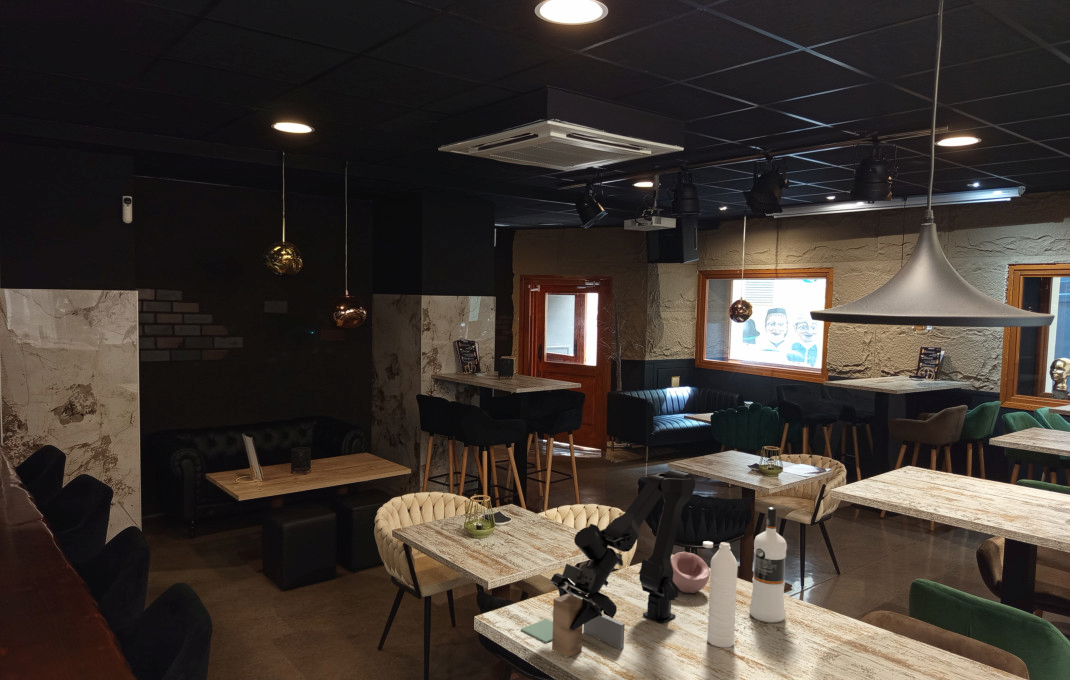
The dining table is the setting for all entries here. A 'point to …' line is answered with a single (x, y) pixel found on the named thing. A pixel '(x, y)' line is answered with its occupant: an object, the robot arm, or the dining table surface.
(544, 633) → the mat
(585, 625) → the gray rectangular block
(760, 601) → the vodka
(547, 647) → the dining table surface
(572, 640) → the letter block
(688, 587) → the pink rounded bowl
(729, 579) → the water bottle
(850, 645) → the dining table surface
